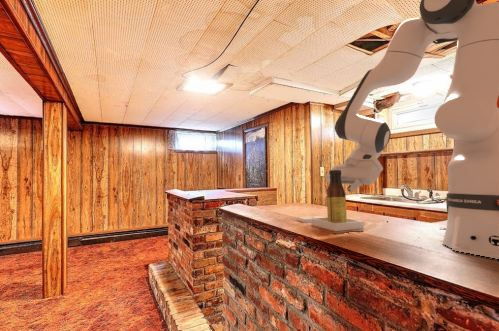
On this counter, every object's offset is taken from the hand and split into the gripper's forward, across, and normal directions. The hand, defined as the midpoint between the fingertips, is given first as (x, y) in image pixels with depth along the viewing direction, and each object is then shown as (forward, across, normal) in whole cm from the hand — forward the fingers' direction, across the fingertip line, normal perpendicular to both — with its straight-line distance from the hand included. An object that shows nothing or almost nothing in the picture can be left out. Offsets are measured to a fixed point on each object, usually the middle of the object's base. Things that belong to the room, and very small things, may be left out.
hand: (338, 190), depth 88 cm
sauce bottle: (+10, 0, +9) cm, 13 cm away
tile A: (+7, -13, +10) cm, 18 cm away
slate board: (+10, -14, +9) cm, 20 cm away
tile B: (+12, -13, +6) cm, 19 cm away
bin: (+10, 0, +9) cm, 14 cm away
